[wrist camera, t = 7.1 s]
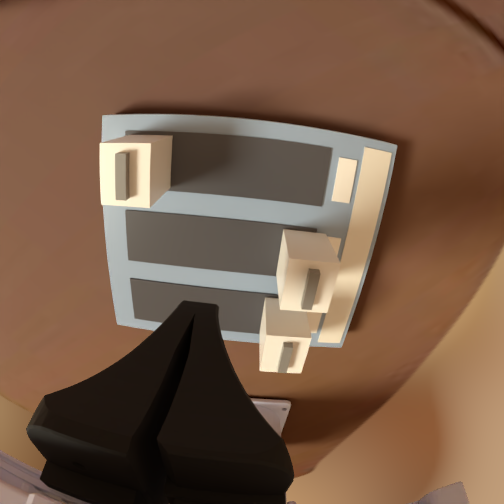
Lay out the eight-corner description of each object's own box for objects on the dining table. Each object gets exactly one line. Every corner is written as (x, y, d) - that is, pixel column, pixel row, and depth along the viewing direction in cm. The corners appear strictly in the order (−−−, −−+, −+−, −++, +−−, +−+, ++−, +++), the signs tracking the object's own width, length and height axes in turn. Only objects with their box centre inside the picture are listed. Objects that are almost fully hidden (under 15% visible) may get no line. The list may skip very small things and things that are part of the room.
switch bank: (337, 333, 22) (341, 348, 21) (124, 312, 22) (116, 325, 20) (387, 141, 16) (398, 145, 15) (113, 114, 16) (101, 115, 14)
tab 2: (295, 334, 20) (301, 378, 17) (259, 332, 20) (259, 376, 17) (303, 300, 19) (312, 343, 15) (264, 297, 19) (266, 340, 15)
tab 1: (170, 187, 16) (146, 211, 13) (129, 185, 16) (97, 207, 12) (172, 135, 15) (147, 144, 11) (129, 134, 15) (95, 144, 11)
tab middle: (316, 277, 18) (328, 317, 15) (276, 273, 18) (280, 314, 15) (325, 233, 17) (343, 267, 14) (283, 229, 17) (290, 262, 13)
